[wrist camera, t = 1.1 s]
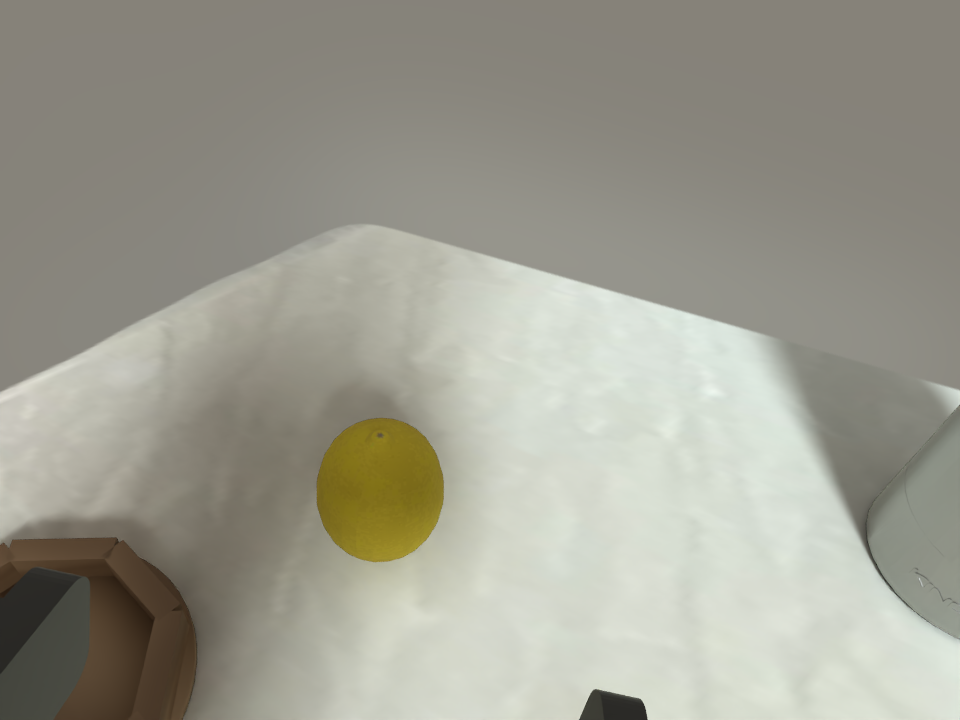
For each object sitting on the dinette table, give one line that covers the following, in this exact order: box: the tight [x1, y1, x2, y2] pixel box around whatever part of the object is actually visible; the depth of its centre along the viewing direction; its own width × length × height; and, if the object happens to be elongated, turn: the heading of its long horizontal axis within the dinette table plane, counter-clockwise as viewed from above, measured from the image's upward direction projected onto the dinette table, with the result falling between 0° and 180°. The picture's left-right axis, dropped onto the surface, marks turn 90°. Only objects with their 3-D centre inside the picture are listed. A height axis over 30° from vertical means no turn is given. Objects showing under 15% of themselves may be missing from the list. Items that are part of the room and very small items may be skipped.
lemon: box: [317, 418, 444, 562], centre depth 32 cm, size 6×6×8 cm
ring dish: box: [0, 538, 197, 720], centre depth 28 cm, size 12×12×2 cm
